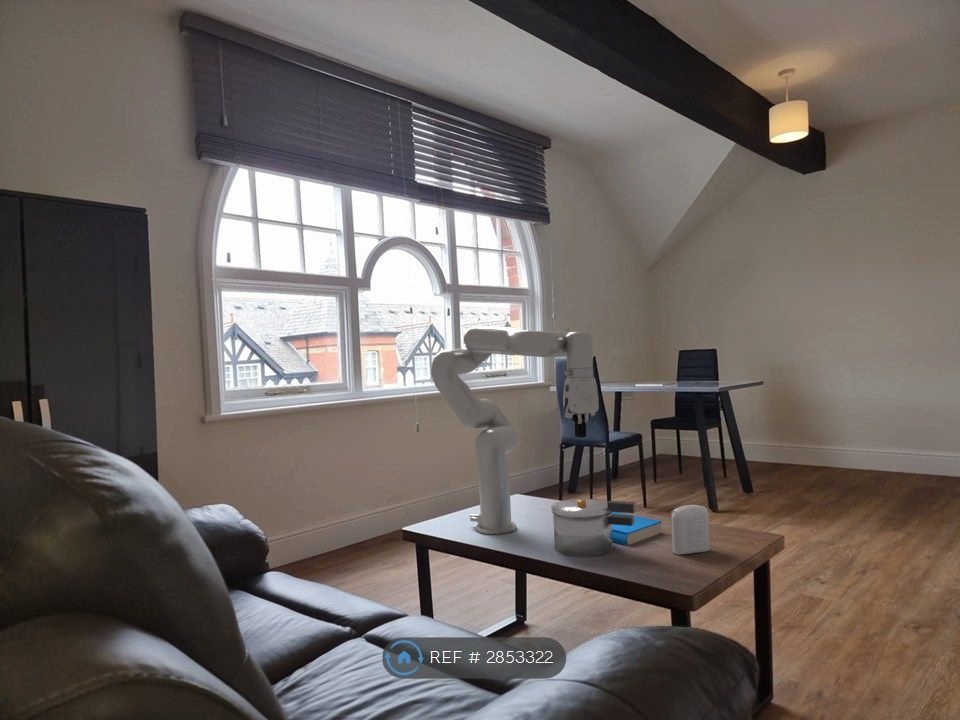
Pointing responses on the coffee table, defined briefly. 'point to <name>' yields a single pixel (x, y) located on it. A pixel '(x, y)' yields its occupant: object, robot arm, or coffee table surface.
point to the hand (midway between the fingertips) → (580, 436)
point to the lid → (590, 508)
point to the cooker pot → (587, 534)
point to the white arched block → (690, 529)
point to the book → (635, 530)
